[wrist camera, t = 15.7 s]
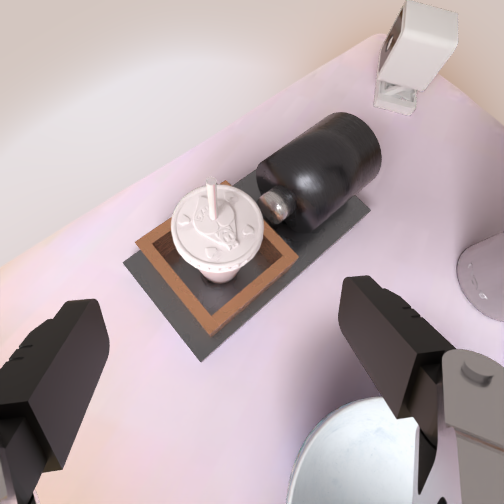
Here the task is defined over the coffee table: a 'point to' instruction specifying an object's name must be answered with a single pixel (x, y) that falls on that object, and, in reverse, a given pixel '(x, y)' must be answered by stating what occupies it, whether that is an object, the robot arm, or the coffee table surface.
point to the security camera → (413, 54)
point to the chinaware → (356, 458)
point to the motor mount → (267, 232)
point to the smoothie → (217, 230)
